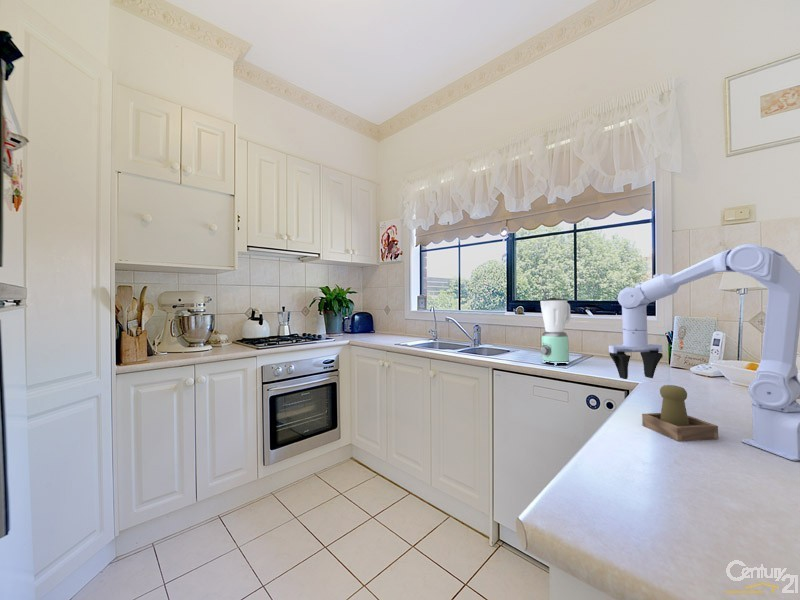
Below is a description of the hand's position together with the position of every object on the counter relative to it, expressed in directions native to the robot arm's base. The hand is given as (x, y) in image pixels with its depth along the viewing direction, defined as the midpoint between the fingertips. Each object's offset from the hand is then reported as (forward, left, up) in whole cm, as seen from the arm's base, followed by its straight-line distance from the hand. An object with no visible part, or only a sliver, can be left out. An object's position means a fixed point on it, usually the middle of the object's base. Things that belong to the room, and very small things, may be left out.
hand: (636, 377), depth 93 cm
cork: (-12, 0, -11) cm, 16 cm away
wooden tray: (-13, 0, -10) cm, 16 cm away
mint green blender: (+80, -21, -11) cm, 84 cm away
